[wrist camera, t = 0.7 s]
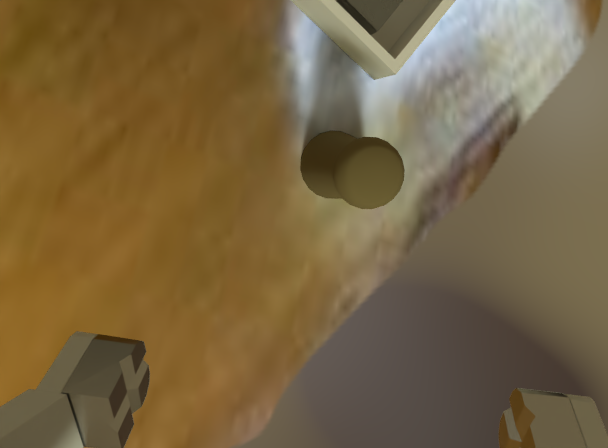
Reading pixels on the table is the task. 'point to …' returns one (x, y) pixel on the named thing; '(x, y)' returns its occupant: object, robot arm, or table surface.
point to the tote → (383, 44)
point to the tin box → (370, 12)
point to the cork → (352, 169)
